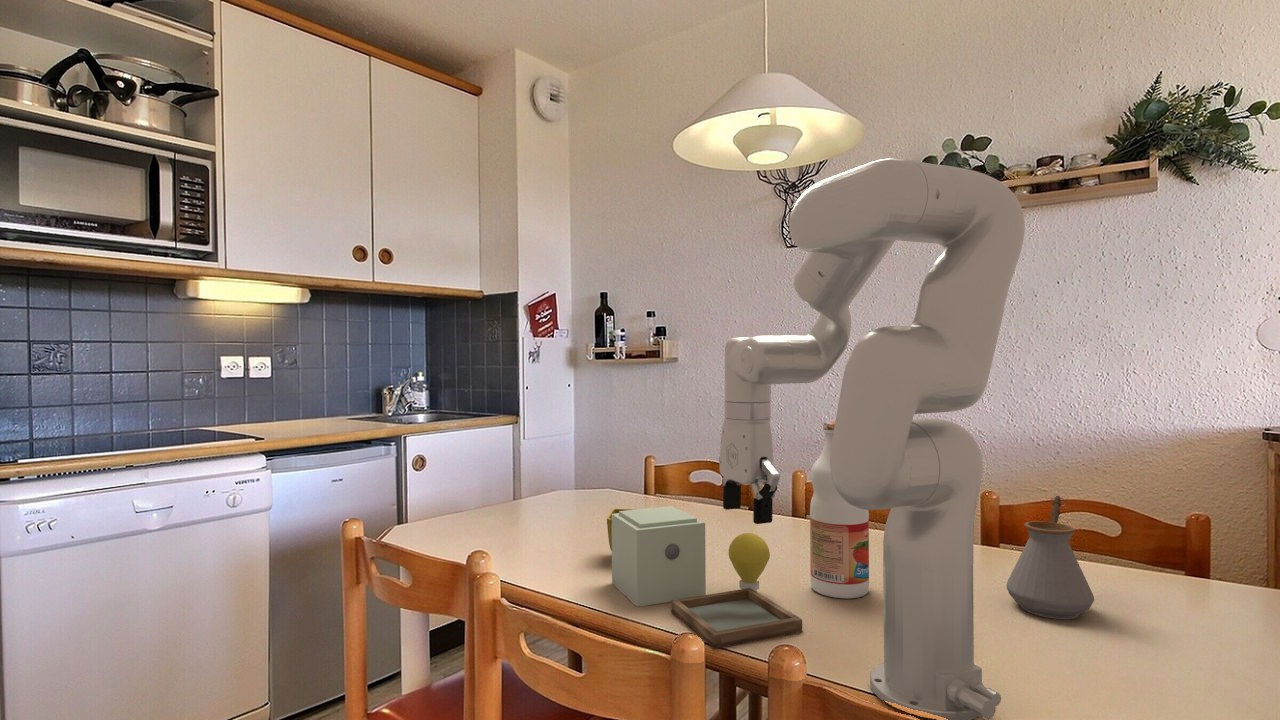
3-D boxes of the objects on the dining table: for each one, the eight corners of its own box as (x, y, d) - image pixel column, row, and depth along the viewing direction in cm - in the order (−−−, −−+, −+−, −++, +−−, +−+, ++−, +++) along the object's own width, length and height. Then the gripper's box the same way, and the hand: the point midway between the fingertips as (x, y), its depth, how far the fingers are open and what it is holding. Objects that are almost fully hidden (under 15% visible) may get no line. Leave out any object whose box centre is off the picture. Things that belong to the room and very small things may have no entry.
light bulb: (769, 603, 105) (769, 540, 105) (727, 600, 106) (726, 538, 106) (770, 588, 112) (769, 529, 112) (730, 586, 113) (729, 527, 113)
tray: (802, 632, 94) (802, 619, 94) (714, 648, 89) (714, 635, 89) (750, 599, 107) (750, 587, 107) (671, 612, 102) (671, 600, 102)
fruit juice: (809, 578, 117) (808, 419, 116) (865, 582, 115) (864, 420, 115) (812, 597, 107) (810, 424, 107) (873, 601, 105) (871, 425, 105)
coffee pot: (1092, 631, 94) (1091, 525, 94) (1000, 612, 101) (999, 514, 101) (1100, 588, 111) (1099, 499, 111) (1021, 575, 118) (1020, 491, 118)
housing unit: (706, 596, 108) (706, 519, 108) (638, 607, 104) (637, 526, 104) (673, 573, 120) (673, 503, 120) (611, 582, 115) (610, 509, 115)
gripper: (703, 408, 116) (702, 505, 116) (755, 418, 100) (755, 531, 100) (740, 407, 119) (739, 502, 119) (797, 416, 103) (796, 526, 103)
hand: (746, 515), depth 110 cm, fingers open, 9 cm apart
